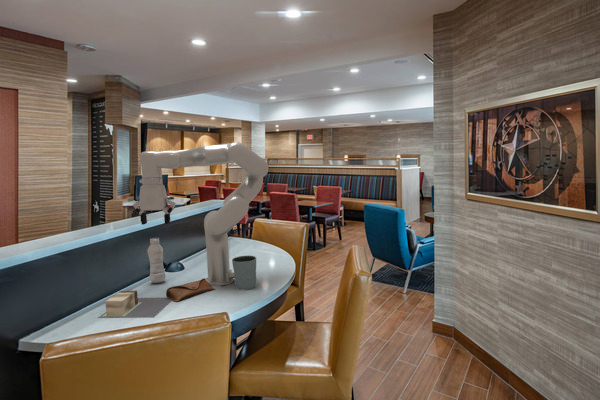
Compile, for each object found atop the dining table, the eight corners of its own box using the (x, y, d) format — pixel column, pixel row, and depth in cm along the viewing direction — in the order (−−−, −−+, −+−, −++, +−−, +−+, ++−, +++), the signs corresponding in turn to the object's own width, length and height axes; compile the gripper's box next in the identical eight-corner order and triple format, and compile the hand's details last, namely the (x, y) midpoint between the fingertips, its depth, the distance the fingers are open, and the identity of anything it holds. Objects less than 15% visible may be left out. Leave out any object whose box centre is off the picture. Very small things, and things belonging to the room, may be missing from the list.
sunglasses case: (177, 301, 132) (172, 284, 134) (169, 306, 136) (164, 290, 138) (217, 288, 146) (211, 273, 147) (208, 294, 150) (203, 279, 152)
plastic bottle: (161, 285, 154) (157, 240, 152) (146, 284, 155) (143, 240, 153) (168, 280, 160) (165, 237, 158) (155, 279, 162) (151, 237, 159)
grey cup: (253, 290, 143) (251, 262, 142) (229, 289, 145) (228, 261, 144) (260, 282, 153) (259, 255, 152) (238, 281, 155) (237, 255, 154)
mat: (175, 298, 138) (175, 297, 138) (154, 318, 120) (153, 317, 120) (126, 298, 139) (126, 297, 139) (97, 319, 121) (97, 317, 121)
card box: (123, 314, 123) (122, 301, 122) (106, 315, 123) (105, 301, 123) (138, 303, 133) (136, 290, 132) (122, 303, 133) (121, 290, 133)
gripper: (126, 183, 140) (130, 225, 141) (169, 181, 139) (172, 224, 140) (136, 182, 147) (140, 222, 149) (177, 180, 146) (180, 221, 148)
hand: (155, 223), depth 145 cm, fingers open, 9 cm apart
